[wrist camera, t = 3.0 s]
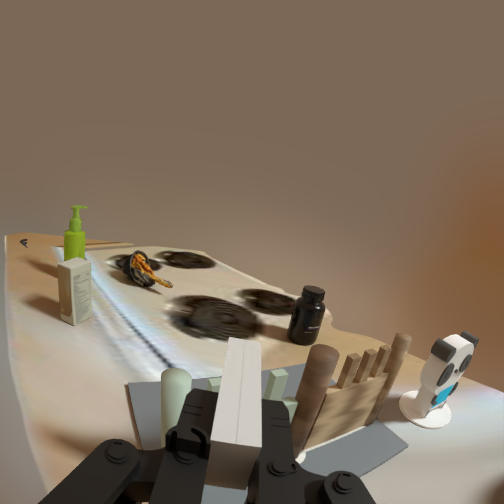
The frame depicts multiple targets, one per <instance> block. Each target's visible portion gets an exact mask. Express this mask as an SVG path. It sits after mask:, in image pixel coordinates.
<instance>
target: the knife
mask: <svg viewBox="0 0 504 504" xmlns="http://www.w3.org/2000/svg"><path fill="white" fill-rule="evenodd" d="M24 241H27V239H23V240H21V241H20V242H21V243H22V244H23V245H24V246H25V247H27V246H26V244H27V242H24ZM27 248H28V247H27Z"/></svg>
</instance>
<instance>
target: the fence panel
mask: <svg viewBox="0 0 504 504" xmlns="http://www.w3.org/2000/svg"><path fill="white" fill-rule="evenodd" d="M288 375H289V374H288V373H287V372H286V371H285V370H284V369H277V370H271V371H270V374H269V378H268V382H267V386H266V389H265V393H264V397H263V399H268V400H276V401H283V402H284V404H285V405H286V407H287V408H288V410H289V417H290V424H291V421H292V418H293V416H294V413H295V410H296V407H297V405H298V402H297V401H296V400H295V399H294V398H293V396H290V397H285V398H282V395H283V392H284V388H285V385H286V382H287V378H288ZM221 379H222V377H221V378H212V379H208V385H207V390H208V391H213V392H218V393H219V390H220V384H221ZM191 382H192V377H191V375H190V374H189V373H188V372H187V371H185V370H183V369H179V368H170V369H167V370H165V371H163V372H162V374H161V448H163V447H165V434H166V433H167V431H168V430H169V429H170V428H172V427H174V426H175V425H177V422H178V419H179V416H180V413H181V410H182V407H183V404H184V401H185V398H186V395H187V394H188V393H189V392H190V391H191Z"/></svg>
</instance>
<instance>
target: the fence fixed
mask: <svg viewBox="0 0 504 504" xmlns="http://www.w3.org/2000/svg"><path fill="white" fill-rule="evenodd" d="M411 340H412V338H411V337H410V336H409V335H406V334H404V333H397V334H396V336H395V338H394V341H393V344H392V346H391V347H389V346H388V345H384V346H381V347H380V349H379V351H378V352H376V351H375V350H373V349H369V350H366V351H365V352H364V355H363V357H361V356H359V355H358V354H357V353H354V354H350V355H347V358H346V361H345V363H344V366H343V369H342V371H341V374H340V377H339V379H338V382H337V384H335V385H331V386H329V383H330V381H331V378H332V375H333V372H334V370H335V367H336V364H337V361H338V359H339V352H338V351H337V350H336V349H334V348H332V347H330V346H327V345H322V344H317V345H313V346H312V347H311V349H310V352H309V355H308V359H307V362H306V365H305V368H304V372H303V375H302V378H301V381H300V384H299V387H298V390H297V393H296V396H295V400H296V401H297V402H298V405H297V407H296V410H295V413H294V416H293V418H292V421H291V424H290V425H291V428H290V429H291V434H292V442H293V451H294V457H295V459H297V458H298V456H299V454H300V452H301V450H302V449H303V450H305V449H307V448H310V447H313V446H316V445H318V444H321V443H323V442H326V441H328V440H331V439H333V438H336V437H338V436H340V435H343V434H345V433H347V432H350V431H352V430H354V429H356V428H359V427H361V426H363V425H371V424H373V422H374V420H375V419H376V417H377V415H378V413H379V411H380V409H381V407H382V405H383V403H384V401H385V399H386V397H387V395H388V393H389V391H390V389H391V387H392V385H393V383H394V381H395V378H396V376H397V374H398V372H399V369H400V367H401V365H402V363H403V360H404V358H405V356H406V353H407V350H408V348H409V346H410V343H411ZM361 358H362V360H361ZM360 360H361V362H360ZM359 363H360V365H359ZM358 366H359V368H358ZM357 368H358V370H357ZM356 371H357V373H356ZM355 373H356V375H355ZM354 376H355V378H354ZM353 378H354V379H353Z"/></svg>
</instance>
